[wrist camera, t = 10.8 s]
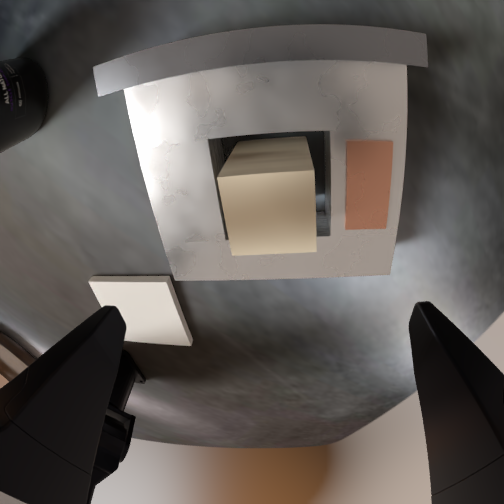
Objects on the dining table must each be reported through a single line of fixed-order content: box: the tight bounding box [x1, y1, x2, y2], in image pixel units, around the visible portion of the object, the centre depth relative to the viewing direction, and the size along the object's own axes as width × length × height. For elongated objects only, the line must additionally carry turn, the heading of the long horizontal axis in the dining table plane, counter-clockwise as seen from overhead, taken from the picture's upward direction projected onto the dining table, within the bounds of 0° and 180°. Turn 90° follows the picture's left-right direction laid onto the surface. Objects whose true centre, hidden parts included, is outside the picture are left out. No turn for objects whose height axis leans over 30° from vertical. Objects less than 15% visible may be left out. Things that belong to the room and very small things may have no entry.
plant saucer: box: [0, 332, 35, 381], centre depth 40 cm, size 21×21×3 cm
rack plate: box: [93, 24, 428, 281], centre depth 15 cm, size 14×14×6 cm
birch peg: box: [217, 136, 317, 256], centre depth 16 cm, size 4×4×6 cm
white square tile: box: [88, 276, 193, 346], centre depth 27 cm, size 8×8×1 cm
